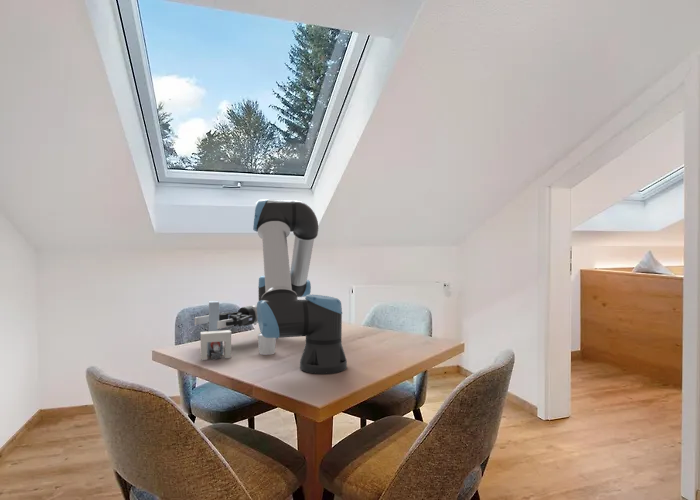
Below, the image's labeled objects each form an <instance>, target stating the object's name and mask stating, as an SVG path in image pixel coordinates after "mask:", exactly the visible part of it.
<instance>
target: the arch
mask: <svg viewBox="0 0 700 500" xmlns="http://www.w3.org/2000/svg"><path fill="white" fill-rule="evenodd" d="M221 341H223V355H224V358H225V359H231V358H232V331H231V330H230V329H225V330H219V331H209V330H208V331H200V361H207V360H208V355H207V342H221Z"/></svg>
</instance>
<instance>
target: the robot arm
mask: <svg viewBox="0 0 700 500" xmlns="http://www.w3.org/2000/svg"><path fill="white" fill-rule="evenodd" d="M252 226H253V231H254V232H256V233H257V235H258V236H259V238H260V239H262V253H263V254H262V255H263V257H262V258H263V270H264V271H263V272H264V273H263V274H264V275H261V276H259V278H258V288H257V289H258V291H257V293H258V301H257V302H256V303H257V304H254V305H248V306H247V305H246V306H242V307H240V308H239V309H238V311H233V312H230V311H229V312H221V313H220V312H219V321H217V329H219V330H220V329H224V328H230V327H233V326H234V327H237V326H238V327H242V326H243V327H244V326H245V327H246V326H251V325H255V326H256V325H257V324H258V327H259V328H258V329H259V331H260V333H261V334H262V335H263V336H264V337H265V338H276V339H279V338H280V339H283V338H296V337H298V338H299V337H305V345H304V349H303V351H302V354H301V357H300V360H299V368H300V370H302V371H303V372H305V373H309V374H317V375H330V374H337V373H341V372H343V371H345V370H346V369H347V367H348V363H347V362H348V360H347V356H346V354H345V350H344V347H343V344H342V342H343V341H342V336H343V334H342V331H343V329H342V328H343V325H342V323H343V319H342V317H343V310H342V309H343V308H342V301H341V300H340V299H339V298H336V297H334V296H328V295H321V294H311V290H312V289H311V288H312V287H311V286H312V285H311V281H310V279H308V277H309V270H310V264H311V259H312V253H313V248H314V247H313V246H314V241H315V239H316V238H317V237H318V234H319V221H318V218H317V216H316V213H315V211H314V210H313V209H312V208H311V207H310V206H309V205H308V204H307V203H305V202H303V201H301V200H296V199H295V200H287V199H285V200H284V199H283V200H281V199H268V198H267V199H259V200H258V201H256V202H255V209H254V216H253V225H252ZM291 233H293V235H294V240H293V241H294V242H293V249H292V255H291V256H292V257H291V264H290V259H289V249H288V247H289V246H288V239H287V238H288V237H289V235H290V234H291ZM298 298H305V299H298ZM203 324H209V313H207V314H206V315H202V316H195V317H194V325H195V326H197V325H203Z"/></svg>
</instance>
